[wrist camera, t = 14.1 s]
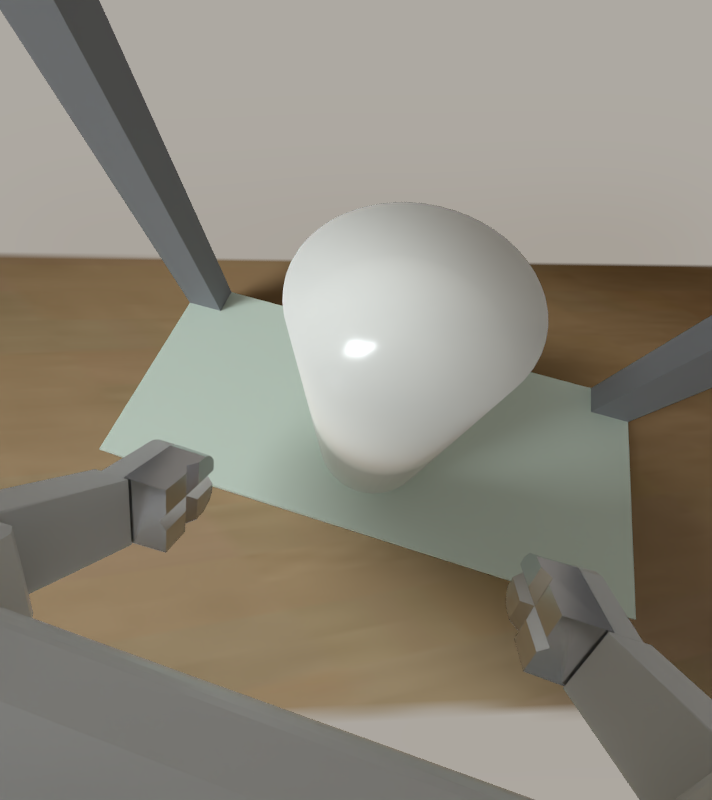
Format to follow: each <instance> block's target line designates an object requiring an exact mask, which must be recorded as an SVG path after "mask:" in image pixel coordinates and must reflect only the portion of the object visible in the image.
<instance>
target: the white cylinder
mask: <svg viewBox="0 0 712 800" xmlns="http://www.w3.org/2000/svg"><path fill="white" fill-rule="evenodd" d="M282 303H283V312H284V318H285V322H286V325H287V329H288V333H289V336H290V340H291V344H292V348H293V351H294V355H295V359H296V362H297V366H298V370H299V373H300V377H301V381H302V384H303V388H304V392H305V395H306V399H307V403H308V407H309V410H310V414H311V418H312V421H313V425H314V429H315V432H316V436H317V440H318V443H319V447H320V451H321V454H322V458H323V460H324V462H325V465H326V466H327V468H328V470H329V471H330V472H331V473H332V475H333V476H334V477H335V478H336V479H337V480H338V481H340V482H341V483H342V484H344V485H345V486H347V487H349V488H351V489H353V490H356V491H359V492H363V493H371V494H376V493H385V492H389V491H392V490H395V489H397V488H399V487H401V486H402V485H404V484H405V483H407V482H408V481H409V480H410V479H411V478H412V477H414V476H415V475H416V474H417V473H418V472H419V471H421V470H422V469H423V468H424V467H425V466H426V465H427V464H429V463H430V462H431V461H432V460H433V459H434V458H436V457H437V456H438V455H439V454H440V453H441V452H442V451H444V450H445V449H446V448H447V447H448V446H449V445H451V444H452V443H453V442H454V441H455V440H456V439H457V438H459V437H460V436H461V435H462V434H463V433H464V432H466V431H467V430H468V429H469V428H470V427H471V426H472V425H474V424H475V423H476V422H477V421H478V420H479V419H481V418H482V417H483V416H484V415H485V414H486V413H487V412H489V411H490V410H491V409H492V408H493V407H494V406H496V405H497V404H498V403H499V402H500V401H501V400H502V399H504V398H505V397H506V396H507V395H508V394H509V393H511V392H512V391H513V390H514V389H515V388H516V387H517V386H518V385H519V384H521V383H522V382H523V381H524V380H525V379H526V377H527V376H528V375H529V374H530V372H531V371H532V370H533V368H534V367H535V365H536V363H537V361H538V360H539V358H540V356H541V354H542V351H543V348H544V345H545V342H546V337H547V331H548V309H547V304H546V298H545V295H544V292H543V289H542V286H541V284H540V282H539V280H538V278H537V276H536V274H535V272H534V270H533V269H532V267H531V266H530V264H529V263H528V261H527V260H526V259H525V258H524V256H523V255H522V254H521V253H520V252H519V251H518V249H517V248H516V247H515V246H513V245H512V244H511V243H510V242H509V241H508V240H507V239H506V238H504V237H503V236H502V235H501V234H499V233H498V232H496V231H495V230H494V229H492V228H490V227H489V226H487V225H485V224H484V223H482V222H480V221H478V220H476V219H474V218H472V217H470V216H468V215H465V214H462V213H460V212H457V211H454V210H451V209H447V208H444V207H440V206H434V205H429V204H423V203H412V202H393V203H383V204H376V205H371V206H366V207H362V208H359V209H356V210H352V211H350V212H347V213H345V214H343V215H340V216H338V217H336V218H335V219H333V220H331V221H329V222H327V223H326V224H325V225H323V226H322V227H320V228H319V229H318V230H316V231H315V232H314V233H313V234H312V235H311V236H310V237H309V238H308V239H307V240H306V241H305V242H304V243H303V245H302V246H301V247H300V248H299V250H298V251H297V253H296V254H295V256H294V258H293V259H292V261H291V263H290V266H289V268H288V271H287V273H286V277H285V282H284V286H283V300H282Z"/></svg>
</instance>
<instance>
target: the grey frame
mask: <svg viewBox="0 0 712 800" xmlns="http://www.w3.org/2000/svg"><path fill="white" fill-rule="evenodd" d="M0 10H1V11H2V13H3V14H4V16H5V18H6V19H7V21H8V22H9V24H10V25H11V27H12V28H13V30H14V31H15V33H16V34H17V36H18V37H19V39H20V41H21V42H22V44H23V45H24V47H25V48H26V50H27V51H28V53H29V55H30V56H31V58H32V59H33V61H34V62H35V64H36V65H37V67H38V68H39V70H40V72H41V73H42V75H43V76H44V78H45V79H46V81H47V82H48V84H49V85H50V87H51V89H52V90H53V92H54V93H55V95H56V96H57V98H58V99H59V101H60V102H61V104H62V105H63V107H64V108H65V110H66V112H67V113H68V115H69V116H70V118H71V119H72V121H73V122H74V124H75V126H76V127H77V129H78V130H79V132H80V133H81V135H82V136H83V138H84V139H85V141H86V142H87V144H88V146H89V147H90V148H91V150H92V152H93V153H94V155H95V156H96V158H97V159H98V161H99V163H100V164H101V166H102V167H103V169H104V170H105V172H106V173H107V175H108V177H109V178H110V180H111V181H112V183H113V184H114V186H115V187H116V189H117V190H118V192H119V193H120V195H121V196H122V198H123V200H124V201H125V203H126V204H127V206H128V207H129V209H130V211H131V212H132V214H133V215H134V217H135V218H136V220H137V221H138V223H139V224H140V226H141V227H142V229H143V231H144V232H145V234H146V235H147V237H148V238H149V240H150V241H151V243H152V244H153V246H154V248H155V249H156V251H157V252H158V254H159V255H160V257H161V258H162V260H163V261H164V263H165V265H166V266H167V268H168V269H169V271H170V272H171V274H172V275H173V277H174V278H175V280H176V282H177V283H178V285H179V286H180V288H181V289H182V291H183V292H184V294H185V295H186V297H187V298H188V300H189V302H190V304H189V305H188V307H187V309H186V310H185V312H184V313H183V315H182V317H181V318H180V320H179V321H178V323H177V325H176V326H175V328H174V330H173V331H172V333H171V334H170V336H169V338H168V339H167V341H166V342H165V344H164V346H163V347H162V349H161V350H160V352H159V354H158V355H157V357H156V358H155V360H154V362H153V363H152V365H151V367H150V368H149V370H148V371H147V373H146V375H145V376H144V378H143V379H142V381H141V383H140V384H139V386H138V387H137V389H136V391H135V392H134V394H133V395H132V397H131V399H130V400H129V402H128V404H127V405H126V407H125V408H124V410H123V412H122V413H121V415H120V416H119V418H118V420H117V421H116V423H115V424H114V426H113V428H112V429H111V431H110V432H109V434H108V436H107V437H106V439H105V441H104V442H103V444H102V445H101V447H100V450H103V451H105V452H108V453H111V454H114V455H116V456H119V457H122V458H124V457H125V456H127V455H129V454H130V453H132V452H133V451H135V450H137V449H138V448H140V447H142V446H143V445H145V444H147V443H148V442H150V441H152V440H156V439H160V440H163V441H166V442H169V443H173V444H175V445H179V446H182V447H185V448H189V449H192V450H195V451H198V452H201V453H204V454H207V455H210V456H211V457H212V458H213V459H214V470H213V471H212V472H211V473H210V474H209V475H208V477H209V479H210V480H211V482H212V484H213V485H212V486H213V487H216V488H219V489H222V490H225V491H228V492H232V493H235V494H238V495H241V496H244V497H247V498H250V499H254V500H257V501H260V502H263V503H266V504H269V505H272V506H276V507H279V508H282V509H285V510H288V511H291V512H294V513H298V514H301V515H304V516H307V517H310V518H313V519H316V520H320V521H323V522H326V523H329V524H332V525H335V526H338V527H342V528H345V529H348V530H351V531H354V532H357V533H360V534H364V535H367V536H370V537H373V538H376V539H379V540H382V541H386V542H389V543H392V544H395V545H398V546H401V547H404V548H408V549H411V550H414V551H417V552H420V553H423V554H427V555H430V556H433V557H436V558H439V559H442V560H445V561H449V562H452V563H455V564H458V565H461V566H464V567H467V568H471V569H474V570H477V571H480V572H483V573H486V574H489V575H493V576H496V577H499V578H502V579H505V580H508V581H511V579H512V577H514V576H516V575H518V574H520V573H523V571H522V568H521V565H520V563H521V562H522V560H523V558H524V557H525V556H526V555H527V554H529V553H532V554H536V555H539V556H542V557H546V558H549V559H552V560H556V561H559V562H562V563H566V564H569V565H575V566H578V567H582V568H586V569H589V570H593V571H596V572H597V573H598V574H600V575H601V576H602V577H603V578H604V580H605V582H606V583H607V585H608V586H609V588H610V590H611V591H612V593H613V594H614V596H615V598H616V599H617V601H618V602H619V604H620V606H621V607H622V609H623V610H624V612H625V614H626V615H627V617H628V618H631V619H635V620H636V610H635V584H634V559H633V534H632V509H631V484H630V459H629V434H628V422H629V421H632V420H634V419H637V418H639V417H641V416H644V415H646V414H649V413H651V412H654V411H656V410H659V409H661V408H663V407H666V406H668V405H671V404H673V403H676V402H678V401H681V400H683V399H685V398H688V397H690V396H693V395H695V394H698V393H700V392H703V391H705V390H708V389H710V388H712V315H711V316H710V317H708V318H706V319H705V320H703V321H701V322H700V323H698V324H696V325H695V326H693V327H691V328H690V329H688V330H687V331H685V332H683V333H682V334H680V335H678V336H677V337H675V338H673V339H672V340H670V341H668V342H667V343H665V344H663V345H662V346H660V347H658V348H657V349H655V350H653V351H652V352H650V353H649V354H647V355H645V356H644V357H642V358H640V359H639V360H637V361H635V362H634V363H632V364H630V365H629V366H627V367H625V368H624V369H622V370H620V371H619V372H617V373H615V374H614V375H612V376H611V377H609V378H607V379H606V380H604V381H602V382H601V383H599V384H597V385H596V386H594V387H592V388H588V387H584V386H581V385H577V384H573V383H569V382H566V381H562V380H558V379H554V378H551V377H547V376H543V375H539V374H536V373H532V372H530V374H529V375H528V376H527V377H526V379H525V380H524V381H523V382H522V383H521V384H519V385H518V386H517V387H516V388H515V389H514V390H513V391H512V392H511V393H509V394H508V395H507V396H506V397H505V398H504V399H502V400H501V401H500V402H499V403H498V404H497V405H496V406H494V407H493V408H492V409H491V410H490V411H489V412H487V413H486V414H485V415H484V416H483V417H482V418H481V419H479V420H478V421H477V422H476V423H475V424H474V425H472V426H471V427H470V428H469V429H468V430H467V431H466V432H464V433H463V434H462V435H461V436H460V437H459V438H457V439H456V440H455V441H454V442H453V443H452V444H451V445H449V446H448V447H447V448H446V449H445V450H444V451H442V452H441V453H440V454H439V455H438V456H437V457H436V458H434V459H433V460H432V461H431V462H430V463H429V464H427V465H426V466H425V467H424V468H423V469H422V470H421V471H419V472H418V473H417V474H416V475H415V476H414V477H412V478H411V479H410V480H409V481H408V482H407V483H405V484H404V485H402V486H401V487H399V488H397V489H395V490H392V491H389V492H385V493H376V494H371V493H363V492H359V491H356V490H353V489H351V488H349V487H347V486H345V485H344V484H342V483H341V482H340V481H338V480H337V479H336V478H335V477H334V476H333V475H332V473H331V472H330V471H329V470H328V468H327V466H326V465H325V462H324V460H323V458H322V454H321V451H320V447H319V443H318V440H317V436H316V432H315V429H314V425H313V421H312V418H311V414H310V410H309V407H308V403H307V399H306V395H305V392H304V388H303V384H302V381H301V377H300V373H299V370H298V366H297V362H296V359H295V355H294V351H293V348H292V344H291V340H290V336H289V333H288V329H287V325H286V322H285V318H284V312H283V306H281V305H277V304H274V303H270V302H266V301H262V300H259V299H255V298H251V297H247V296H244V295H240V294H236V293H232V292H231V290H230V288H229V286H228V284H227V282H226V279H225V277H224V275H223V273H222V270H221V268H220V266H219V264H218V262H217V259H216V257H215V255H214V253H213V251H212V249H211V247H210V244H209V242H208V240H207V238H206V235H205V233H204V231H203V229H202V226H201V224H200V222H199V220H198V218H197V215H196V213H195V211H194V209H193V207H192V204H191V202H190V200H189V198H188V196H187V193H186V191H185V189H184V187H183V184H182V182H181V180H180V178H179V176H178V173H177V171H176V169H175V167H174V165H173V162H172V160H171V158H170V156H169V154H168V152H167V149H166V147H165V145H164V143H163V141H162V138H161V136H160V134H159V132H158V130H157V127H156V125H155V123H154V120H153V118H152V116H151V114H150V112H149V110H148V107H147V105H146V103H145V101H144V98H143V96H142V94H141V92H140V90H139V87H138V85H137V83H136V81H135V79H134V76H133V74H132V72H131V70H130V68H129V65H128V63H127V61H126V59H125V56H124V54H123V52H122V50H121V48H120V45H119V43H118V41H117V39H116V37H115V34H114V32H113V30H112V28H111V26H110V24H109V21H108V19H107V17H106V15H105V12H104V11H103V8H102V6H101V4H100V1H99V0H0Z"/></svg>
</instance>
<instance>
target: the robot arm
mask: <svg viewBox="0 0 712 800" xmlns="http://www.w3.org/2000/svg"><path fill="white" fill-rule="evenodd" d="M213 470H214V459H213V458H212V457H211V456H210V455H207V454H204V453H201V452H198V451H195V450H192V449H189V448H185V447H182V446H179V445H175V444H173V443H169V442H166V441H163V440H160V439H156V440H152V441H150V442H148V443H147V444H145V445H143V446H142V447H140V448H138V449H137V450H135V451H133V452H132V453H130V454H129V455H127V456H125V457H124V458H122V459H120V460H119V461H117V462H115V463H114V464H112V465H111V466H109V467H107V468H106V469H104V470H102V471H99V470H96V469H94V470H90V471H85V472H80V473H76V474H71V475H66V476H62V477H57V478H52V479H48V480H43V481H38V482H34V483H29V484H24V485H20V486H15V487H10V488H6V489H1V490H0V800H534V799H531V798H528V797H526V796H523V795H520V794H517V793H514V792H512V791H509V790H506V789H504V788H501V787H498V786H495V785H493V784H490V783H487V782H484V781H481V780H479V779H476V778H473V777H470V776H468V775H465V774H462V773H459V772H457V771H454V770H451V769H448V768H446V767H443V766H440V765H437V764H435V763H432V762H429V761H426V760H424V759H421V758H418V757H415V756H412V755H410V754H407V753H404V752H401V751H399V750H396V749H393V748H390V747H388V746H385V745H382V744H379V743H376V742H374V741H371V740H368V739H366V738H362V737H360V736H357V735H354V734H352V733H349V732H346V731H343V730H341V729H338V728H335V727H332V726H330V725H327V724H324V723H321V722H319V721H316V720H313V719H310V718H307V717H305V716H302V715H299V714H296V713H294V712H291V711H288V710H285V709H282V708H280V707H277V706H274V705H271V704H269V703H266V702H263V701H260V700H258V699H255V698H252V697H249V696H246V695H244V694H241V693H238V692H235V691H233V690H230V689H227V688H224V687H221V686H219V685H216V684H213V683H210V682H208V681H205V680H202V679H199V678H197V677H194V676H191V675H188V674H185V673H183V672H180V671H177V670H174V669H172V668H169V667H166V666H163V665H161V664H158V663H155V662H152V661H150V660H147V659H144V658H141V657H138V656H136V655H133V654H130V653H127V652H125V651H122V650H119V649H116V648H114V647H111V646H108V645H105V644H102V643H100V642H97V641H94V640H91V639H89V638H86V637H83V636H80V635H78V634H75V633H72V632H69V631H67V630H64V629H61V628H58V627H55V626H53V625H50V624H47V623H44V622H42V621H39V620H36V619H33V618H32V617H33V610H32V606H31V602H30V598H29V594H30V593H32V592H34V591H36V590H38V589H40V588H42V587H44V586H47V585H49V584H51V583H53V582H55V581H57V580H59V579H61V578H63V577H65V576H67V575H69V574H71V573H74V572H76V571H78V570H80V569H82V568H84V567H86V566H88V565H90V564H92V563H94V562H96V561H98V560H101V559H103V558H105V557H107V556H109V555H111V554H113V553H115V552H117V551H119V550H121V549H123V548H125V547H128V546H130V545H131V544H132V543H135V544H139V545H142V546H145V547H149V548H152V549H156V550H159V551H162V552H167V551H168V550H169V549H170V548H171V547H172V545H173V544H174V543H175V542H176V541H177V540H178V539H179V538H180V537H181V536H182V535H183V534H184V532H185V523H188V522H190V521H193V520H196V519H197V518H198V517H199V516H200V515H201V513H202V512H203V511H204V509H205V508H206V506H207V504H208V502H209V500H210V497H211V493H212V485H213V484H212V482H211V480H210V479H209V477H208V475H209V474H210V473H211V472H212V471H213ZM520 565H521V568H522V571H523V573H520V574H518V575H516V576H514V577H512V579H511V581H510V583H509V585H508V587H507V593H506V609H507V613H508V617H509V620H510V621H511V622H512V624H513V625H514V626H515V628H516V629H517V630H518V633H517V635H516V637H515V639H514V640H515V643H516V647H517V651H518V654H519V658H520V662H521V665H522V669H523V671H524V672H527V673H529V674H532V675H535V676H538V677H540V678H543V679H546V680H549V681H551V682H554V683H557V684H560V685H562V686H564V688H563V689H564V690H565V691H566V693H567V694H568V696H569V697H570V699H571V700H572V702H573V703H574V705H575V706H576V708H577V709H578V710H579V712H580V713H581V715H582V716H583V718H584V719H585V721H586V722H587V724H588V725H589V726H590V728H591V729H592V731H593V732H594V734H595V735H596V737H597V738H598V740H599V741H600V743H601V744H602V746H603V747H604V748H605V750H606V751H607V753H608V754H609V756H610V757H611V759H612V760H613V762H614V763H615V764H616V766H617V767H618V769H619V770H620V772H621V773H622V775H623V776H624V778H625V779H626V780H627V782H628V783H629V785H630V786H631V788H632V789H633V791H634V792H635V793H636V795H637V797H638V798H639V799H640V800H712V699H711V698H710V697H708V696H707V695H706V694H705V693H704V692H703V691H702V690H701V689H700V688H698V687H697V686H696V685H695V684H694V683H693V682H692V681H691V680H690V679H688V678H687V677H686V676H685V675H684V674H683V673H682V672H681V671H680V670H678V669H677V668H676V667H675V666H674V665H673V664H672V663H671V662H670V661H668V660H667V659H666V658H665V657H664V656H663V655H662V654H661V653H660V652H658V651H657V650H656V649H655V648H654V647H653V646H652V645H649V644H646V643H643V641H642V639H641V638H640V636H639V635H638V633H637V631H636V630H635V628H634V627H633V625H632V623H631V622H630V620H629V618H628V617H627V615H626V614H625V612H624V610H623V609H622V607H621V606H620V604H619V602H618V601H617V599H616V598H615V596H614V594H613V593H612V591H611V590H610V588H609V586H608V585H607V583H606V582H605V580H604V578H603V577H602V576H601V575H600V574H598V573H597V572H596V571H593V570H589V569H586V568H582V567H578V566H575V565H569V564H566V563H562V562H559V561H556V560H552V559H549V558H546V557H542V556H539V555H536V554H532V553H529V554H527V555H526V556H525V557H524V558H523V560H522V562H521V563H520Z"/></svg>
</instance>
